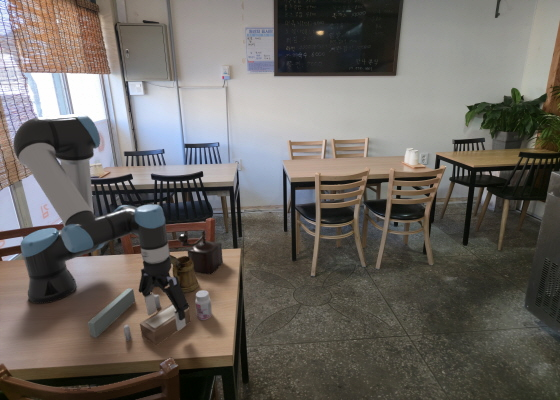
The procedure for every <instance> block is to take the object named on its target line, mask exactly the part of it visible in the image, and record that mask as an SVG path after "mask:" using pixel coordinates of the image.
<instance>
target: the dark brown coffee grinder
mask: <svg viewBox="0 0 560 400" xmlns="http://www.w3.org/2000/svg"><path fill="white" fill-rule="evenodd" d="M177 240H178V242H180V243H181V246H182V247H190V248H188V249H187V251H186V252H187V256H188V257H191V259H192V261H193V264H194V271H195V274H196V273H198V274H201V275H202V274H203V275H213V274H214V273H215V272H216V271H217V270H218V269H219V268H220V267H221V266H222V265H223V263H224V259H223V251H222V250H223V248H222V242H215V241H207V240H206V230H205V229H203V230H201V236H200V238H199V239H198V240H196V241H195V242H194V243H190V242H189V235H188V234H187V233H181V234H179V235H178V238H177ZM219 266H220V267H219Z"/></svg>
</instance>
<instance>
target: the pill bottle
mask: <svg viewBox="0 0 560 400" xmlns="http://www.w3.org/2000/svg"><path fill="white" fill-rule="evenodd" d="M211 302H212V301H211V297H210V295H209V291H207V290H198V291H197V292H196V293H195V311H196V317H197V319H199V320H201V321H205V320H208V319H210V318H211V317H212V315H213V314H212V313H213V312H212V303H211Z"/></svg>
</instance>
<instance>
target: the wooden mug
mask: <svg viewBox="0 0 560 400" xmlns="http://www.w3.org/2000/svg"><path fill="white" fill-rule="evenodd" d="M169 256H170V259H171V266H172V278H174V277H175V276H177V277H178V281H179V284H180V287H181V289H182V291H183V293H184V294H186V293H187V294H188V293H191V292H192V291H195V290H197V288H198V286H199V281H198V278H197V275H196V272H195V271H194V264H193V261H192V259H191V257H188V255H182V256H180V257H176V256H174V255H171V254H170V255H169Z"/></svg>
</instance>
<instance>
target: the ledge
mask: <svg viewBox="0 0 560 400" xmlns="http://www.w3.org/2000/svg"><path fill="white" fill-rule="evenodd" d="M154 299H155V305H156V309H161V300H160V294H154ZM135 302H136V298H135V292H134V288H131V287H128V288H126V289H125V290H124V291H123V292H122V293H121V294H120V295H118V296H117V297H116V298H115V299H113V300H112V301H111V302H110V303H109V304H108V305H107V306H106V307H104V308H103V309H101V311H99V312H98V313H97V314H96V315H95V316H94V317H92V318H91V319H90V320H89V321H88V322H87V325H88V329H89V333H90V337H93V338H98V337H99V336H100V335H101V334H102V333H103V332H104V331H105V330H106V329H107V328H108V327H109V326H110V325H111V324H113V323H114V322H115V321H116V320H117V319H118V318H119V317H120V316H121V315H122V314H123V313H124V312H125V311H127V309H129V308H130V307H131V306H132V305H133V304H134V303H135ZM123 332H124V338H125V341H130V340H132V333H131V328H130V325H129V324H125V325H123Z"/></svg>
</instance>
